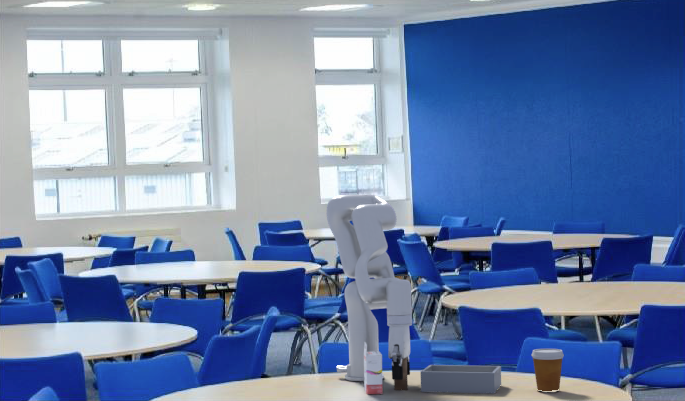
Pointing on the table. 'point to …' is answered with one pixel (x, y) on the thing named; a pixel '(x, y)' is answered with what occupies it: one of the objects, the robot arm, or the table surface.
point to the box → (461, 379)
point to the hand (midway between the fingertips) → (401, 377)
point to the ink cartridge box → (372, 372)
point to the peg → (403, 383)
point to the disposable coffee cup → (547, 368)
